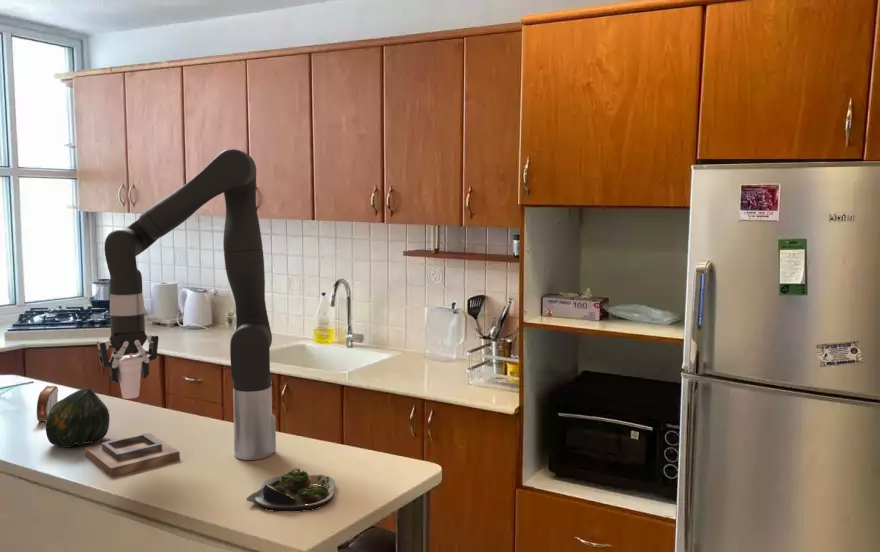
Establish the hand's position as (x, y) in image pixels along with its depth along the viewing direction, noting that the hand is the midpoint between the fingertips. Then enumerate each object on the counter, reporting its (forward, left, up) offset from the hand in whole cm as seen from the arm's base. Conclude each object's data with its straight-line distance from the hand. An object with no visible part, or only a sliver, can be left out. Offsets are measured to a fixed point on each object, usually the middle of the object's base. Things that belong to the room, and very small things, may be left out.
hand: (129, 379), depth 168 cm
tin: (+6, -48, -20) cm, 53 cm away
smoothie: (0, 0, -4) cm, 4 cm away
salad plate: (-17, +46, -20) cm, 53 cm away
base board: (0, 0, -20) cm, 20 cm away
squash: (+6, -20, -20) cm, 29 cm away
